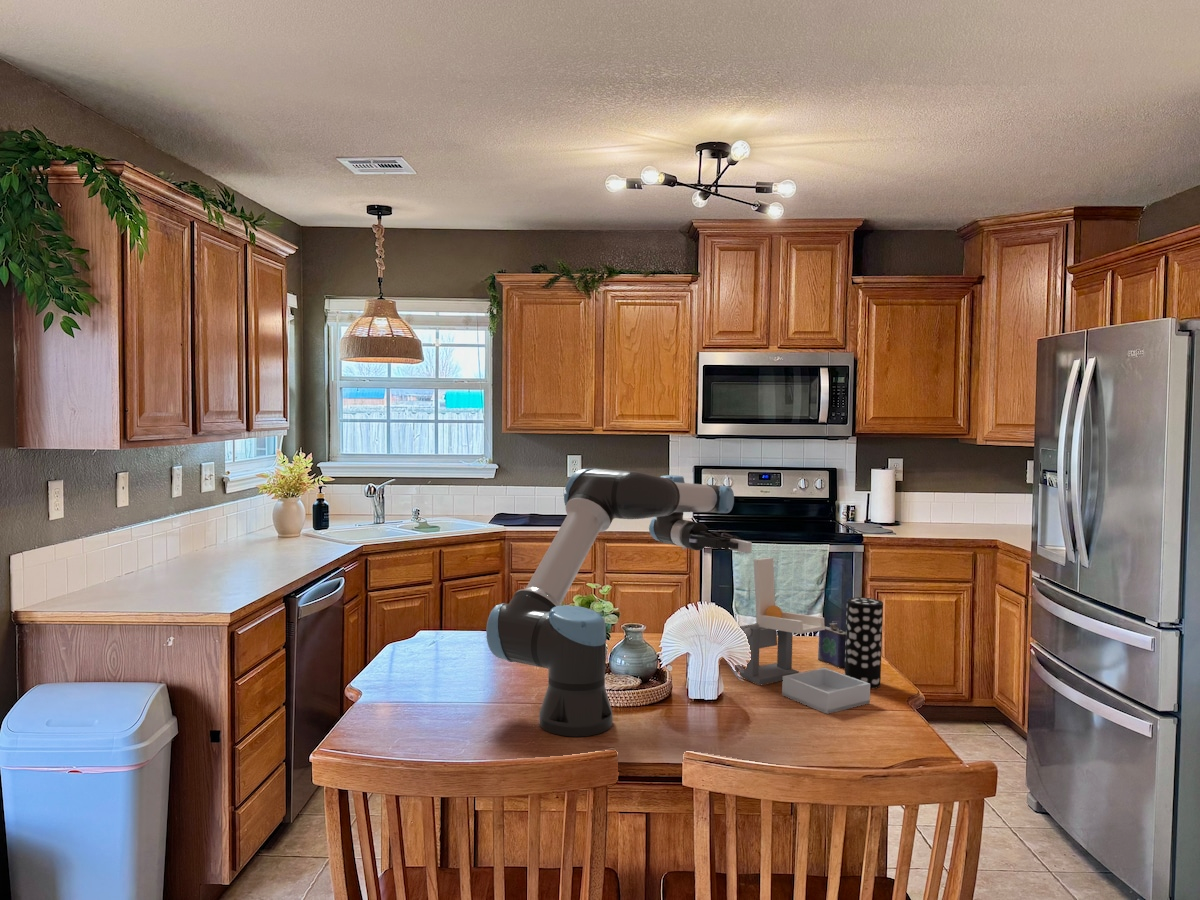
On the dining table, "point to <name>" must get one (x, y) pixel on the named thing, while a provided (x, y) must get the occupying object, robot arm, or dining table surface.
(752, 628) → the stand
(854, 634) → the spotted tube
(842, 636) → the flask
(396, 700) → the dining table surface
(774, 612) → the ball
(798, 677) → the grey storage tray
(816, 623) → the chute
